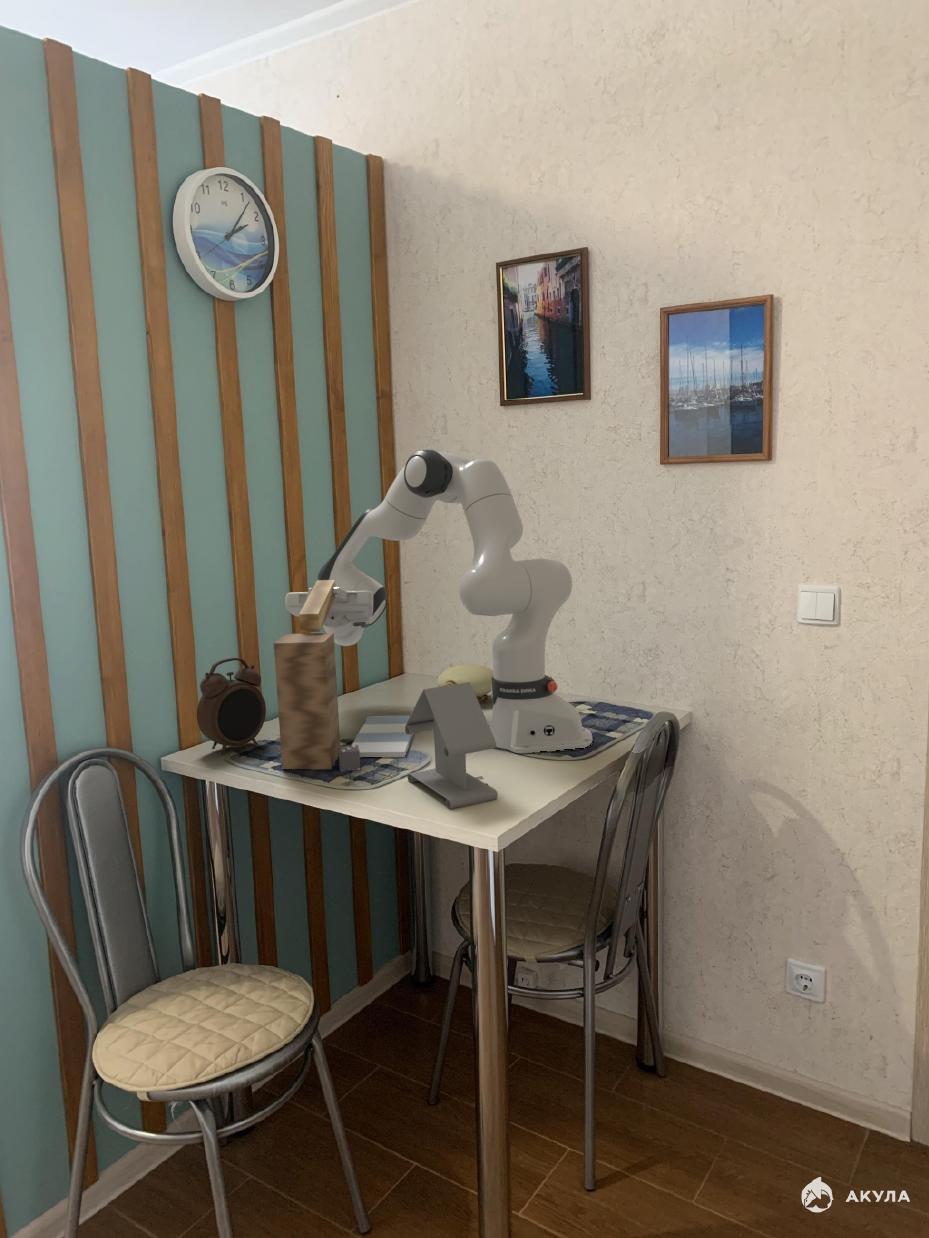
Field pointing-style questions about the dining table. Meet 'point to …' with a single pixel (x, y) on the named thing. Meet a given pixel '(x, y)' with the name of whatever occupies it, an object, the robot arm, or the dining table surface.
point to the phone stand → (453, 742)
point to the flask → (469, 678)
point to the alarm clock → (231, 706)
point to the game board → (384, 737)
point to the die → (349, 757)
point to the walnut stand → (307, 700)
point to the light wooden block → (317, 606)
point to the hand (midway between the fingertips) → (323, 590)
